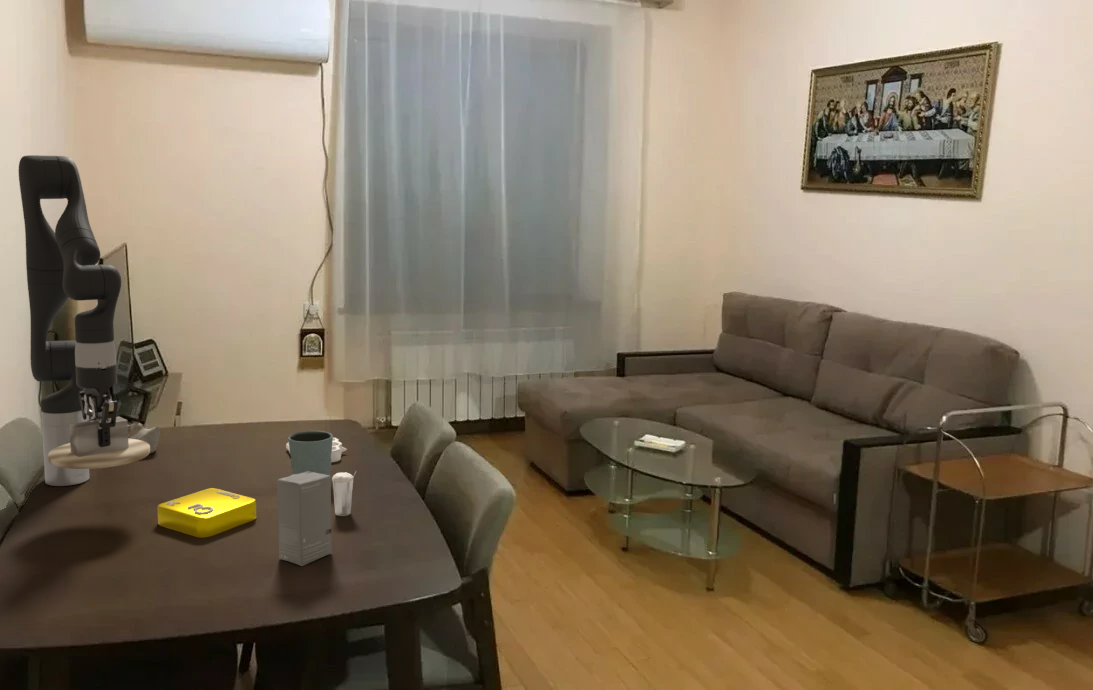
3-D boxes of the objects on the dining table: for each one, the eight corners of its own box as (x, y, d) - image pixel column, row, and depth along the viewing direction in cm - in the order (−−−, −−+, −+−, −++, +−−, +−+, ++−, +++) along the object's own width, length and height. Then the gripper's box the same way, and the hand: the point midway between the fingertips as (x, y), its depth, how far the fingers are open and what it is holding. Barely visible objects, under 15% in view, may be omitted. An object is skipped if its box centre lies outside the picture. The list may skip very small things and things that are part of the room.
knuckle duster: (283, 448, 245) (337, 443, 252) (296, 467, 229) (353, 461, 236) (283, 436, 245) (337, 432, 251) (295, 454, 229) (353, 449, 235)
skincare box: (301, 567, 167) (300, 485, 165) (275, 558, 171) (273, 478, 168) (334, 553, 174) (334, 474, 172) (308, 545, 178) (307, 467, 176)
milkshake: (351, 518, 193) (351, 473, 192) (328, 516, 194) (328, 471, 193) (360, 511, 198) (360, 467, 196) (337, 509, 199) (337, 465, 197)
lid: (33, 453, 186) (31, 420, 185) (126, 437, 200) (125, 406, 199) (70, 475, 174) (68, 440, 173) (166, 456, 188) (165, 423, 187)
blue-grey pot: (341, 485, 215) (341, 436, 213) (304, 494, 208) (303, 444, 206) (317, 475, 222) (317, 428, 220) (280, 483, 215) (279, 435, 213)
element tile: (260, 518, 192) (260, 497, 192) (203, 540, 179) (202, 517, 179) (212, 505, 200) (211, 484, 199) (153, 525, 187) (152, 503, 186)
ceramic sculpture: (147, 425, 229) (91, 425, 231) (150, 458, 231) (95, 458, 232) (168, 416, 240) (114, 416, 241) (171, 447, 241) (117, 447, 242)
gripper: (62, 359, 186) (67, 439, 188) (91, 370, 176) (95, 454, 179) (100, 355, 191) (104, 433, 194) (129, 365, 182) (133, 447, 185)
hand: (99, 443), depth 187 cm, fingers closed on lid, 4 cm apart
